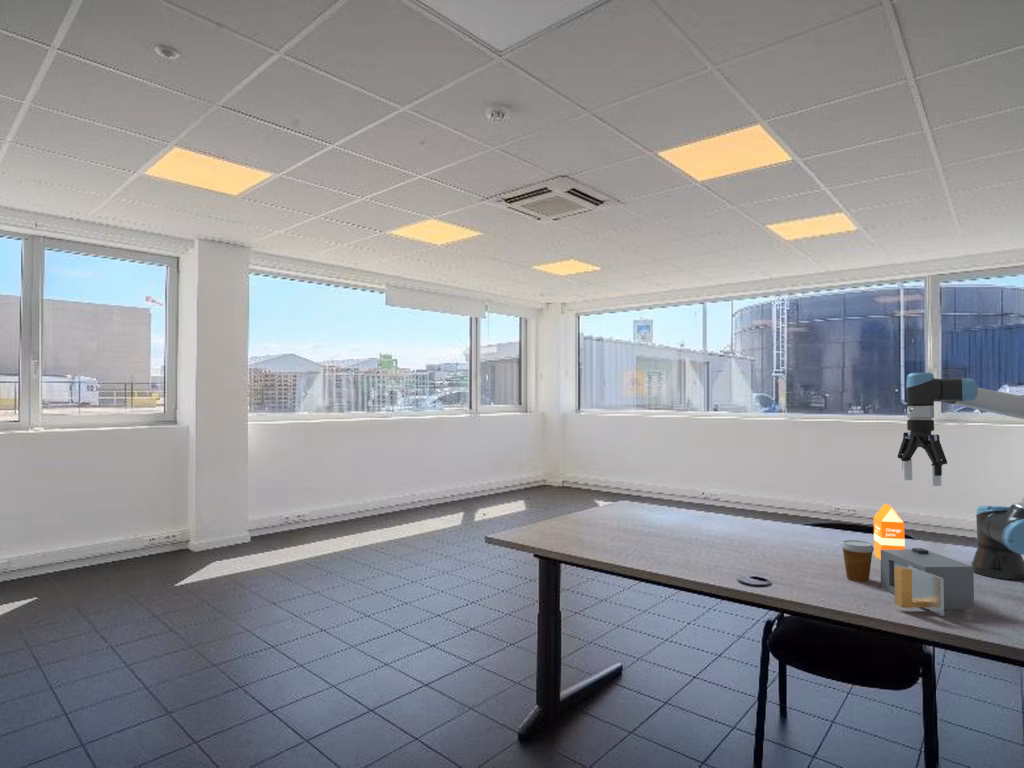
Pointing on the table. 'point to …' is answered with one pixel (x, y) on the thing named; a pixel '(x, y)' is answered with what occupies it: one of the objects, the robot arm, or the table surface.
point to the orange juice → (888, 530)
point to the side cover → (918, 589)
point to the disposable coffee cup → (857, 559)
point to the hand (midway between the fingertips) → (921, 482)
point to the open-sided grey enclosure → (952, 572)
